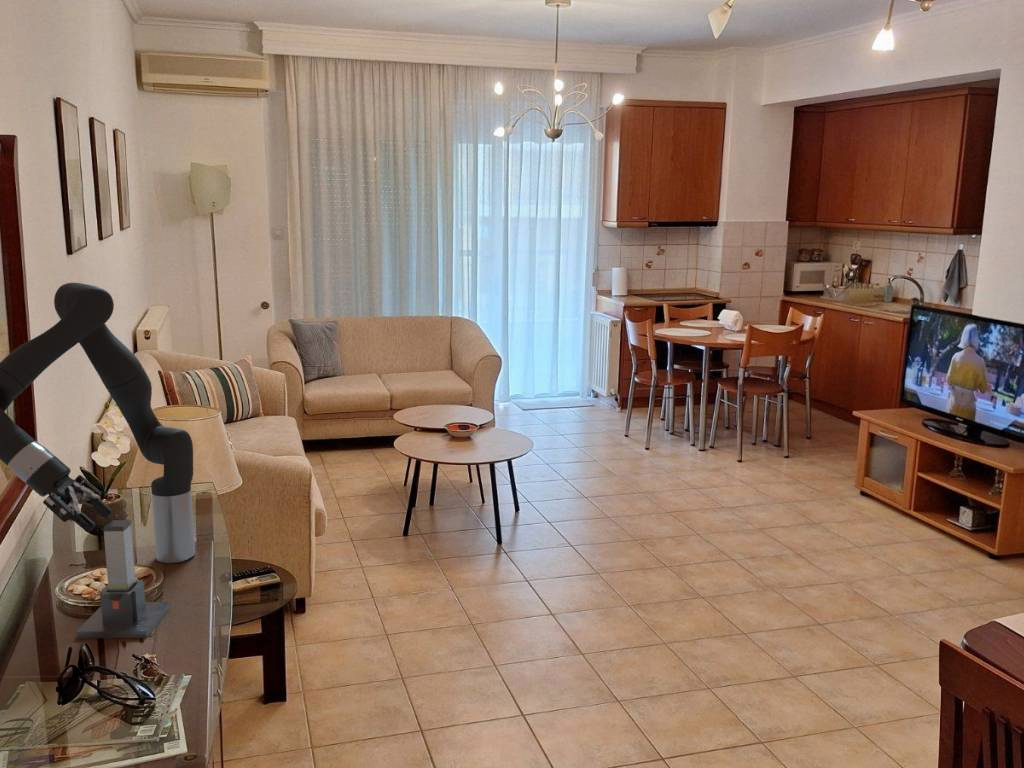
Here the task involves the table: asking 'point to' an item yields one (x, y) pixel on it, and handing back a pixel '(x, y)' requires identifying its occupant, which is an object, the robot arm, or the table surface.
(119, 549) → the post
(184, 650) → the table surface
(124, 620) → the stand
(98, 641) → the table surface
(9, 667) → the table surface
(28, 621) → the table surface
